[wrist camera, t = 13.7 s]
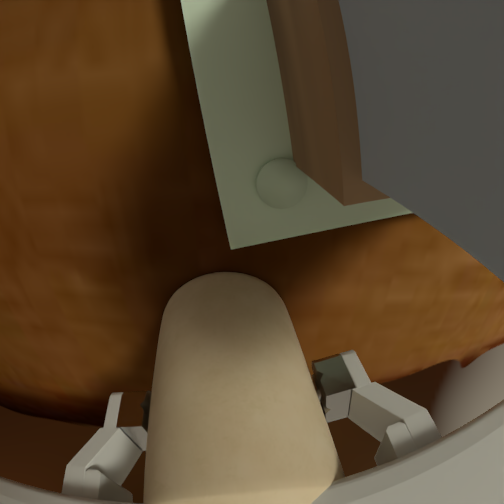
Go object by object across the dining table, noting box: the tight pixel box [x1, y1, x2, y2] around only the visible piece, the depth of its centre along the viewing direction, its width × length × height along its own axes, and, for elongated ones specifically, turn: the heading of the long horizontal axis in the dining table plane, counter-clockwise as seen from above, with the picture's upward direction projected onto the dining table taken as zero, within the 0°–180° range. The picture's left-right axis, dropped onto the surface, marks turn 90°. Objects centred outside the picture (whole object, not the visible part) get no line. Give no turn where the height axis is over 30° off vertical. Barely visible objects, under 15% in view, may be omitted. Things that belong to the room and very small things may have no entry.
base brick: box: [266, 0, 390, 206], centre depth 6 cm, size 7×7×4 cm
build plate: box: [181, 0, 413, 250], centre depth 8 cm, size 12×12×1 cm
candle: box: [144, 272, 345, 504], centre depth 9 cm, size 6×6×10 cm
